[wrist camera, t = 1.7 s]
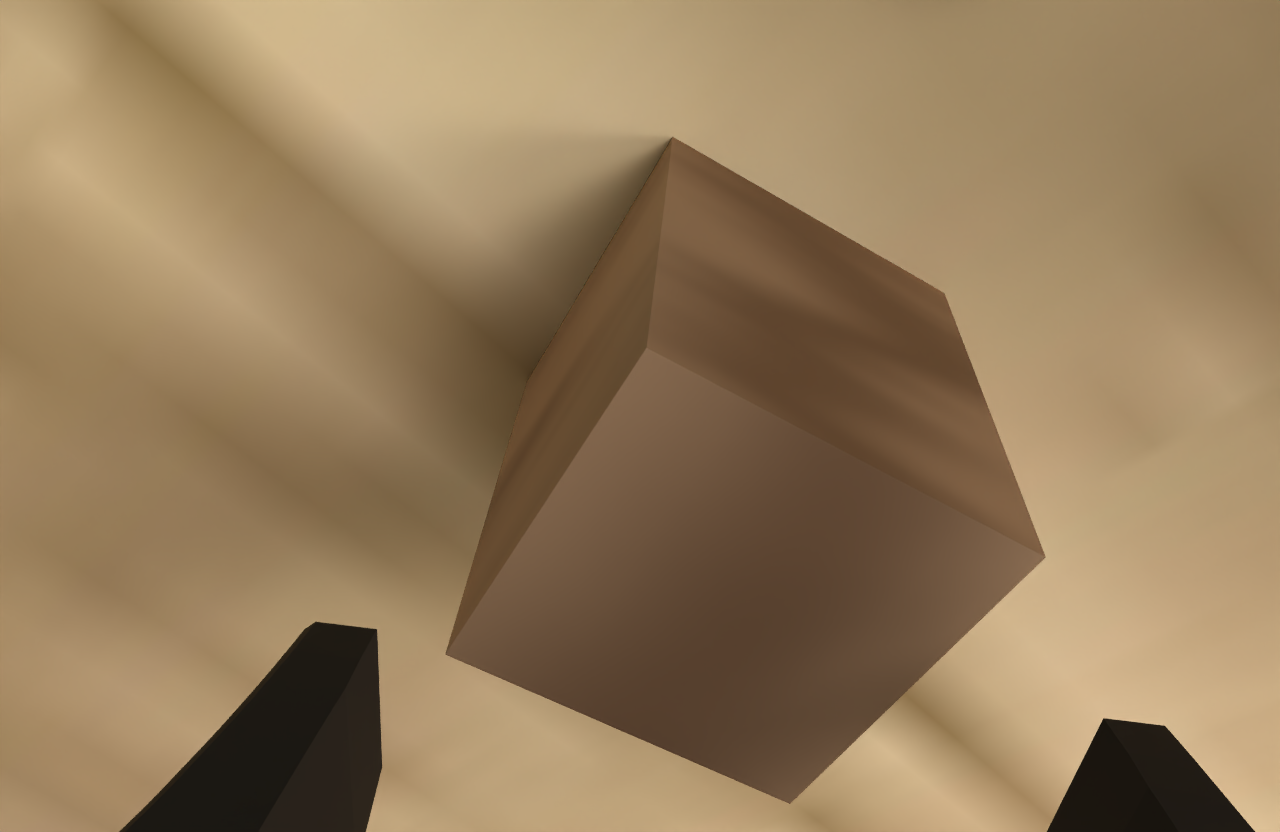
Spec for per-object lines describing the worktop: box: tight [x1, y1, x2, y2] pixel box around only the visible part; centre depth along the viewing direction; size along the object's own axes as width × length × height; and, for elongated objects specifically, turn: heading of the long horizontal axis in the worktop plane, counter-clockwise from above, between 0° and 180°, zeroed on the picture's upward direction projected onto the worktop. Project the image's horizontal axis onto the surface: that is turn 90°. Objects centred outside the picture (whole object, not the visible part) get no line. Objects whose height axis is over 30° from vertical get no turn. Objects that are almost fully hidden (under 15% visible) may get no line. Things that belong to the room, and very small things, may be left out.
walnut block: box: [446, 137, 1045, 804], centre depth 15 cm, size 5×5×6 cm
